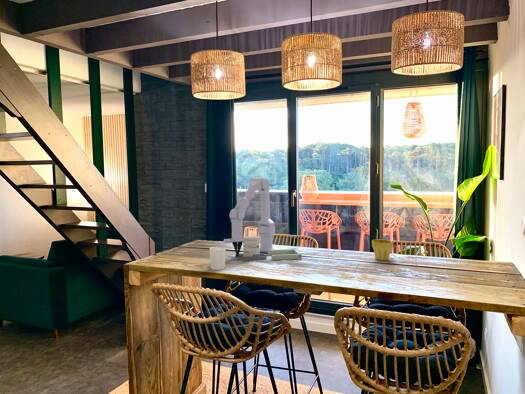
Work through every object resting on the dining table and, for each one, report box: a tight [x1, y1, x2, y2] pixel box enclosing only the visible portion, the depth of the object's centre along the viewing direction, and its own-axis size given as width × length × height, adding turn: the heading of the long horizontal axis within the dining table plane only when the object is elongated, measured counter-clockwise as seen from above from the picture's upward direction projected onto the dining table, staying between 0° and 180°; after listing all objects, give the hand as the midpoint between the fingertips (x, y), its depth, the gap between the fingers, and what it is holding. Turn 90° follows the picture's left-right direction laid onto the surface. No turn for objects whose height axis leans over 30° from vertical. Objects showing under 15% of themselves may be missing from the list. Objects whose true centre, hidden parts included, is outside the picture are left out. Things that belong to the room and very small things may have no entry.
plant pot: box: [371, 238, 393, 261], centre depth 214 cm, size 10×10×10 cm
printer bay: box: [234, 252, 268, 261], centre depth 219 cm, size 9×16×2 cm, turn 98°
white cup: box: [209, 246, 226, 271], centre depth 197 cm, size 8×8×10 cm
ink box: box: [242, 235, 261, 257], centre depth 219 cm, size 8×5×12 cm, turn 84°
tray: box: [267, 248, 302, 261], centre depth 222 cm, size 14×16×2 cm
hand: (237, 255), depth 218 cm, fingers closed
